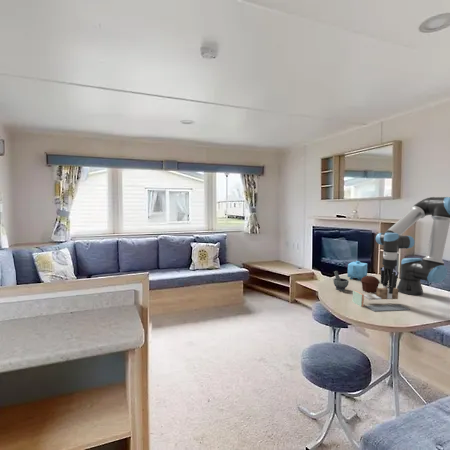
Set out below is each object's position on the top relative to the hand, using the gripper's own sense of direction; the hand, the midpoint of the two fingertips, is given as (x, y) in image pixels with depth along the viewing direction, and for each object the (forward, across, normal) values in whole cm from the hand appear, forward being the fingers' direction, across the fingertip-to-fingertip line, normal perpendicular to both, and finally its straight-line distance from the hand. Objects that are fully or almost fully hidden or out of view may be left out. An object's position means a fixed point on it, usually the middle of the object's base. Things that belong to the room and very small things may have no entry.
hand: (387, 297), depth 186 cm
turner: (0, 0, -4) cm, 4 cm away
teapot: (+3, -57, +15) cm, 59 cm away
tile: (+4, 0, -19) cm, 19 cm away
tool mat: (+3, +8, -6) cm, 11 cm away
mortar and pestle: (+4, -30, -14) cm, 33 cm away
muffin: (+4, -25, +5) cm, 26 cm away
